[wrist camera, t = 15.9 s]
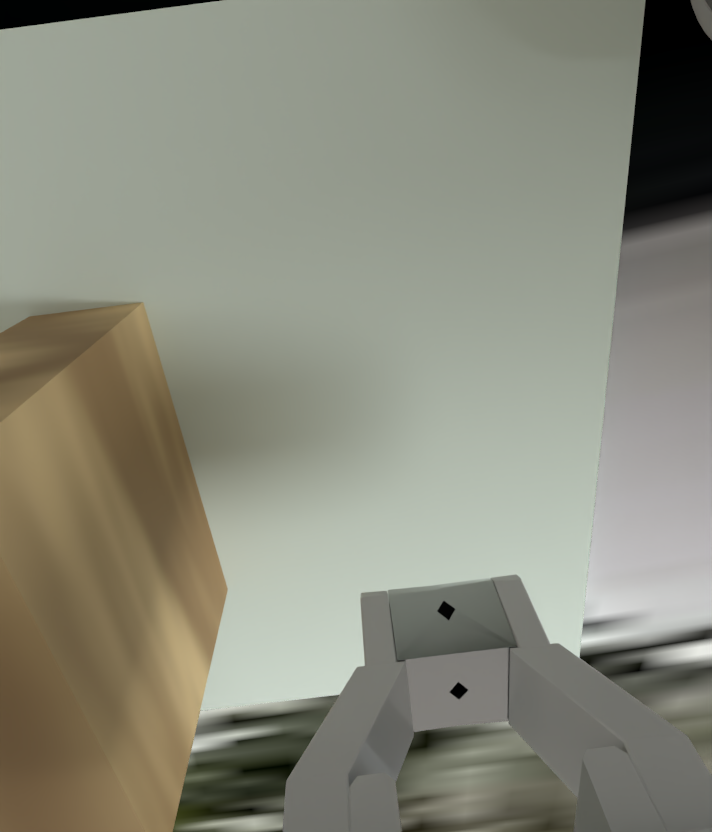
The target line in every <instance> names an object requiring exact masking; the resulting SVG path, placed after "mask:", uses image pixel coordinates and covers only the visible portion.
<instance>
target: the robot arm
mask: <svg viewBox="0 0 712 832" xmlns="http://www.w3.org/2000/svg"><path fill="white" fill-rule="evenodd" d="M388 598H389V600H388ZM360 603H361V617H362V632H363V646H364V661H365V666H360V667H357V668H356V669H355V671H354V672H353V674H352V676H351V677H350V679H349V680H348V682H347V684H346V685H345V687H344V689H343V690H342V692H341V693H340V695H339V697H338V698H337V700H336V702H335V703H334V705H333V706H332V708H331V710H330V711H329V713H328V714H327V716H326V718H325V719H324V721H323V723H322V724H321V726H320V727H319V729H318V731H317V732H316V734H315V735H314V737H313V739H312V740H311V742H310V744H309V745H308V747H307V748H306V750H305V752H304V753H303V755H302V756H301V758H300V760H299V761H298V763H297V765H296V766H295V768H294V769H293V771H292V773H291V774H290V776H289V777H288V779H287V781H286V792H285V805H284V819H283V832H402V828H401V820H400V813H399V806H398V798H397V791H396V784H395V782H396V780H397V777H398V775H399V772H400V769H401V767H402V764H403V762H404V759H405V757H406V754H407V752H408V749H409V747H410V744H411V741H412V739H413V736H414V732H417V731H423V730H430V729H437V728H444V727H451V726H457V725H467V724H479V723H490V722H501V721H509V724H510V726H511V727H512V728H513V729H514V730H515V731H516V732H517V733H518V734H519V735H520V736H521V737H522V738H523V740H524V741H525V742H526V743H527V744H528V745H529V746H530V747H531V748H532V749H533V750H534V751H535V753H536V754H537V755H538V756H539V757H540V758H541V759H542V760H543V761H544V762H545V763H546V764H547V766H548V767H549V768H550V769H551V770H552V771H553V772H554V773H555V774H556V775H557V776H558V777H559V778H560V780H561V781H562V782H563V783H564V784H565V785H566V786H567V787H568V788H569V789H570V790H571V791H572V793H573V794H574V795H575V796H576V797H577V798H578V800H577V809H576V817H575V825H574V832H712V776H711V774H710V772H709V771H708V769H707V767H706V766H705V764H704V763H703V761H702V759H701V758H700V756H699V754H698V753H697V751H696V749H695V748H694V746H693V744H692V743H691V741H690V739H689V738H688V736H687V735H686V734H684V733H683V732H681V731H680V730H679V729H677V728H676V727H674V726H673V725H672V724H670V723H669V722H667V721H666V720H665V719H663V718H662V717H661V716H659V715H658V714H656V713H655V712H654V711H652V710H651V709H649V708H648V707H647V706H645V705H644V704H643V703H641V702H640V701H638V700H637V699H636V698H634V697H633V696H631V695H630V694H629V693H627V692H626V691H624V690H623V689H622V688H620V687H619V686H618V685H616V684H615V683H613V682H612V681H611V680H609V679H608V678H606V677H605V676H604V675H602V674H601V673H600V672H598V671H597V670H595V669H594V668H593V667H591V666H590V665H588V664H587V663H586V662H584V661H583V660H581V659H580V658H579V657H577V656H576V655H575V654H573V653H572V652H570V651H569V650H568V649H566V648H565V647H563V646H562V645H561V644H559V643H554V644H550V642H549V640H548V637H547V635H546V633H545V631H544V629H543V626H542V624H541V622H540V620H539V618H538V615H537V613H536V611H535V609H534V606H533V604H532V602H531V600H530V598H529V595H528V593H527V591H526V589H525V587H524V584H523V582H522V580H521V578H520V577H519V576H518V575H517V574H515V575H508V576H500V577H493V578H490V579H489V578H486V579H478V580H470V581H463V582H455V583H447V584H439V585H433V586H423V587H412V588H402V589H391V590H388V593H387V591H376V592H365V593H361V598H360ZM389 607H390V608H389Z"/></svg>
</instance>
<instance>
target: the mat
mask: <svg viewBox="0 0 712 832" xmlns="http://www.w3.org/2000/svg"><path fill="white" fill-rule="evenodd" d="M644 10H645V0H222V1H215V2H207V3H199V4H192V5H184V6H177V7H169V8H162V9H154V10H146V11H139V12H131V13H124V14H116V15H109V16H101V17H93V18H86V19H78V20H71V21H63V22H56V23H48V24H40V25H33V26H25V27H18V28H10V29H3V30H0V333H1V332H3V331H5V330H7V329H8V328H10V327H12V326H14V325H15V324H17V323H19V322H21V321H22V320H24V319H26V318H28V317H30V316H37V315H45V314H53V313H61V312H69V311H77V310H85V309H93V308H101V307H109V306H117V305H125V304H133V303H141V302H143V303H144V306H145V310H146V313H147V316H148V320H149V323H150V327H151V330H152V333H153V337H154V340H155V344H156V347H157V350H158V354H159V357H160V361H161V364H162V367H163V371H164V374H165V378H166V381H167V384H168V388H169V391H170V394H171V398H172V401H173V405H174V408H175V411H176V415H177V418H178V422H179V425H180V428H181V432H182V435H183V439H184V442H185V445H186V449H187V452H188V456H189V459H190V462H191V466H192V469H193V473H194V476H195V479H196V483H197V486H198V490H199V493H200V496H201V500H202V503H203V507H204V510H205V513H206V517H207V520H208V524H209V527H210V530H211V534H212V537H213V541H214V544H215V547H216V551H217V554H218V558H219V561H220V564H221V568H222V571H223V575H224V578H225V581H226V585H227V588H228V591H227V595H226V600H225V604H224V608H223V613H222V617H221V622H220V626H219V630H218V635H217V639H216V643H215V648H214V652H213V657H212V661H211V665H210V670H209V674H208V678H207V683H206V687H205V692H204V696H203V700H202V705H201V709H200V711H203V710H212V709H220V708H229V707H237V706H246V705H254V704H263V703H272V702H280V701H289V700H297V699H306V698H314V697H323V696H332V695H340V693H341V692H342V690H343V689H344V687H345V685H346V684H347V682H348V680H349V679H350V677H351V676H352V674H353V672H354V671H355V669H356V668H357V667H360V666H365V661H364V646H363V632H362V617H361V603H360V598H361V593H365V592H376V591H387V593H388V590H391V589H402V588H412V587H423V586H433V585H439V584H447V583H455V582H463V581H470V580H478V579H486V578H489V579H490V578H493V577H500V576H508V575H515V574H517V575H518V576H519V577H520V578H521V580H522V582H523V584H524V587H525V589H526V591H527V593H528V595H529V598H530V600H531V602H532V604H533V606H534V609H535V611H536V613H537V615H538V618H539V620H540V622H541V624H542V626H543V629H544V631H545V633H546V635H547V637H548V640H549V642H550V644H554V643H559V644H561V645H562V646H563V647H565V648H566V649H568V650H569V651H570V652H572V653H573V654H575V655H576V656H577V657H579V656H580V646H581V637H582V627H583V617H584V607H585V597H586V587H587V577H588V567H589V557H590V547H591V537H592V527H593V517H594V507H595V497H596V487H597V477H598V467H599V458H600V448H601V438H602V428H603V418H604V408H605V398H606V388H607V378H608V368H609V358H610V348H611V338H612V328H613V318H614V308H615V298H616V288H617V278H618V269H619V259H620V249H621V239H622V229H623V219H624V209H625V199H626V189H627V179H628V169H629V159H630V149H631V139H632V129H633V119H634V109H635V99H636V89H637V80H638V70H639V60H640V50H641V40H642V30H643V20H644ZM388 600H389V598H388ZM389 608H390V607H389Z"/></svg>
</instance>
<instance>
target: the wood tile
mask: <svg viewBox="0 0 712 832" xmlns="http://www.w3.org/2000/svg"><path fill="white" fill-rule="evenodd" d="M227 591H228V588H227V585H226V581H225V578H224V575H223V571H222V568H221V564H220V561H219V558H218V554H217V551H216V547H215V544H214V541H213V537H212V534H211V530H210V527H209V524H208V520H207V517H206V513H205V510H204V507H203V503H202V500H201V496H200V493H199V490H198V486H197V483H196V479H195V476H194V473H193V469H192V466H191V462H190V459H189V456H188V452H187V449H186V445H185V442H184V439H183V435H182V432H181V428H180V425H179V422H178V418H177V415H176V411H175V408H174V405H173V401H172V398H171V394H170V391H169V388H168V384H167V381H166V378H165V374H164V371H163V367H162V364H161V361H160V357H159V354H158V350H157V347H156V344H155V340H154V337H153V333H152V330H151V327H150V323H149V320H148V316H147V313H146V310H145V306H144V303H143V302H141V303H133V304H125V305H117V306H109V307H101V308H93V309H85V310H77V311H69V312H61V313H53V314H45V315H37V316H30V317H28V318H26V319H24V320H22V321H21V322H19V323H17V324H15V325H14V326H12V327H10V328H8V329H7V330H5V331H3V332H1V333H0V832H173V827H174V823H175V818H176V814H177V810H178V805H179V801H180V797H181V792H182V788H183V783H184V779H185V775H186V770H187V766H188V762H189V757H190V753H191V748H192V744H193V740H194V735H195V731H196V727H197V722H198V718H199V713H200V709H201V705H202V700H203V696H204V692H205V687H206V683H207V678H208V674H209V670H210V665H211V661H212V657H213V652H214V648H215V643H216V639H217V635H218V630H219V626H220V622H221V617H222V613H223V608H224V604H225V600H226V595H227Z"/></svg>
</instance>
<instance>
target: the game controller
mask: <svg viewBox="0 0 712 832" xmlns="http://www.w3.org/2000/svg"><path fill="white" fill-rule="evenodd" d="M691 4H692V8H693V10H694V12H695V15H696V17H697V20H698V22H699V23H700V25H701V27H702V28H703V30H704V32H705V33H706V34H707V35H708V37H709V38H710V39H711V40H712V0H691Z"/></svg>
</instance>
